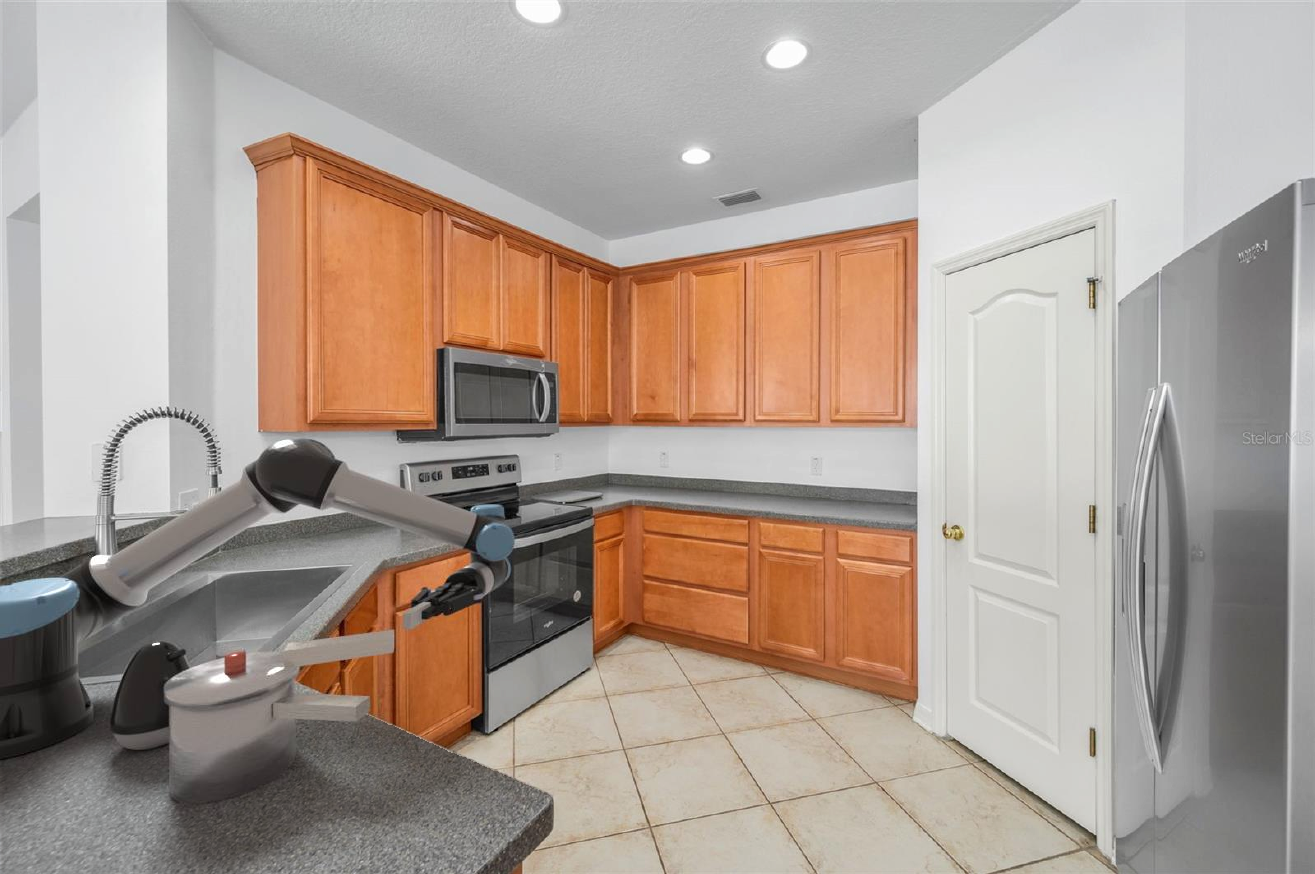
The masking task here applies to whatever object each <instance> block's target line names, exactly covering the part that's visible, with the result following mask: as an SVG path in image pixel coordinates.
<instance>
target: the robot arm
mask: <svg viewBox="0 0 1315 874" xmlns="http://www.w3.org/2000/svg"><path fill="white" fill-rule="evenodd" d="M299 505H302V506H307V507H309V508H313V509H317V510H320V511H325V510H328V509H331V508H333V509H336V510H340V511H342V512H344V513H347V514H351V515H354V516H358V517H361V518H365V519H367V520H370V521H374V522H376V523H380V524H384V525H386V526H390V527H391V528H392V527H393V528H396V529H399V530H403V531H406V532H409V533H412V534H415V535H417V536H418V535H419V536H420V537H425V538H428V539H432V540H434V541H437V542H440V543H443V544H446V545H450V546H453V547H456V548H460V549H462V550H465V551H468V552H469V554H470V555H469V557H470V558H469V559H470V562H469V564H468V565H466V566H464V567H462V568H461V569H458V570H456V571H455V572H452V573H451V574H449V576H448V577H447V578H446V580H445V582H444V583H443V585H439V586H437V587H436V588H435V589H434V590H432V588H429V587H426V586H424V587H421V589H420V592H419V593H417V595H416V596H414V598H412V599H411V600H410V608H409V609H408V610H406V611H404V612H403V613H402V630H409V631H410V630H413V629H414V628H416V627H417V626H419V625H421V624H423V623H424V622H426V621H427V620H430V619H431V618H433V617H439V616H441V615H443V616H445V617H447V616H450V615H454V614H455V613H457V612H459V611H462V610H464V609H467V608H469V607H471V606H474V605H476V604H481V603H484V596H486V595H488V594H490V593H492V591H494V590H496V589H498V588H500V587H501V586H502V585H504V583H505V582H506V581H507V580H508V579H509V577H510V575H511V572H512V571H511V570H512V567H511V563H510V561H509V558H507V557H509V556H510V554H512V552H513V550H514V547H515V544H516V543H515V541H516V540H515V535H514V532H513V530H512V528H511V527H510V526H508V524H507V523H505V519H506V516H505V508H504V506H503V505H501V504H493V503H492V504H477V505H474V506H471V508H470V511H469V510H467V509H464V508H461V507H458V506H455V505H453V504H450V503H446V502H444V501H441V500H437V499H435V498H432V497H429V496H426V495H423V494H421V493H418V492H415V491H412V490H409V489H407V488H404V487H401V486H397V485H395V484H392V483H390V482H389V483H388V482H387V481H384V480H380V479H378V478H374V477H371V476H369V475H366V474H363V473H360V472H358V471H355V470H351V469H349V466H348V464H347V463H346V461H343V460H340V459H338V458H337V459H336V456H335V455H334V453H333V451H332V450H331V448H328V446H327V445H325V444H324V443H322V442H320V441H318V440H315V439H312V438H304V437H303V438H296V439H295V438H291V439H283V440H280V441H277V442H274V443H272V444H270V445H268V446H267V448H266V449H264V450H263V451H262V452H261V454H260V456H259V457H258V458H257V459H256V460H254V461H252V462H251V463H250V464H247V465H246V466H244V467H243V469H242V474H241V478H240V479H238V480H237V481H235V482H233V483H232V484H230V485H228V486H226V487H225V488H223V489H221V490H220V491H218V492H216V493H215V494H212V496H210V497H208V498H207V499H205V500H203V501H202V502H199V503H198V504H196V505H195V506H193V507H191V508H189V509H188V510H186V511H185V512H183V513H182V514H179V515H178V516H176V517H175V518H173V519H171V520H170V521H168V522H166V523H165V524H163V525H162V526H160V527H158V528H156V529H155V530H153V531H152V532H150V533H148V534H146V535H145V536H143V537H142V538H139V539H138V540H137V541H135V542H133V543H131V544H129V545H128V546H126V547H124V548H123V549H121V550H119V551H118V552H117V553H115V554H112V555H111V554H97V555H95V556H93V557H91V558H89V559H87V560H86V561H84V562H82V563H80V564H79V565H77V566H75V567H74V568H72V569H70V570H69V571H67V572H65V573H64V574H62V575H60V576H58V577H45V578H35V579H27V580H23V581H18V582H13V583H11V584H9V585H1V586H0V760H3V759H8V758H13V757H16V756H20V755H23V754H27V753H30V752H33V751H36V750H40V749H43V748H46V747H49V746H51V745H54V744H56V743H59V742H62V741H63V740H66V739H69V738H70V737H73V736H74V735H76V734H78V733H80V732H81V731H83V730H85V729H86V728H87V727H88V726H90V725H91V724H92V722H93V721H94V704H93V702H92V701H91V699H90V696H89V694H88V692H87V691H86V689H85V686H84V683H82V680H81V678H80V676H79V644H81V643H82V642H84V641H86V640H87V639H89V638H90V637H92V636H94V635H96V634H97V633H100V632H102V631H104V630H106V629H108V628H109V627H111V626H113V625H114V624H116V623H117V622H118V621H120V619H121V618H122V617H124V616H126V615H127V614H129V613H131V612H132V611H134V610H135V609H137V608H138V607H140V606H141V605H142V604H144V603H146V600H148V599H147V598H148V594H149V591H150V590H151V589H153V588H154V587H156V586H157V585H159V584H160V583H162V582H164V581H165V580H167V579H169V578H170V577H172V576H174V575H175V574H176V573H178V572H180V571H181V570H183V569H185V568H186V567H188V566H189V565H190V564H192V563H194V562H196V561H197V560H199V559H200V558H201V557H203V556H205V555H207V554H208V553H210V552H211V551H213V550H214V549H216V548H218V547H220V546H221V545H223V544H224V543H226V542H227V541H229V540H230V539H232V538H234V537H236V536H237V535H238V534H240V533H241V532H243V531H245V530H246V529H248V528H249V527H251V526H252V525H254V524H256V523H257V522H259V521H261V520H263V519H264V518H265V517H267V516H268V515H270V514H273V513H274V514H282V515H284V514H286V513H288V512H289V511H291V510H293V509H294V508H296V507H297V506H299Z"/></svg>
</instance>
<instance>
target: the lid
mask: <svg viewBox="0 0 1315 874" xmlns="http://www.w3.org/2000/svg"><path fill="white" fill-rule="evenodd" d="M394 650H395V629H389V630H380V631H373V632H372V631H371V632H364V633H358V634H350V635H343V636H342V635H341V636H335V637H329V638H328V637H327V638H319V639H312V640H305V641H297V642H296V641H295V642H290V643H287V644H286V646H285V649H284V650H283V651H277V650H275V651H274V650H273V651H271V650H270V651H257V652H256V651H255V652H249V653H247V652H246V650H245V651H238V652H233V653H229V654H227V655H225V657H224V658H221V659H217V660H216V659H214V660H211V661H207V662H204V663H200V664H198V665H196V666H195V665H194V666H193V667H190V669H188V670H185V671H183V672H181V673H179V674H177V675H175V676H174V677H172V678H171V679H170V680H168V681H167V682H166V684H165V685H164V702H165V703H166V704H167V705H169V706H172V707H177V708H205V707H214V706H220V705H226V704H231V703H235V702H239V701H243V700H247V699H250V698H254V697H257V696H260V695H263V694H265V693H268V692H271V691H273V690H275V689H277V688H280V687H281V686H283V685H285V684H287V683H288V682H290V681H291V680H293V679H294V678H295V679H296V677H297V676H298V675H299V673H300V667H304V666H310V665H311V666H312V665H318V664H325V663H333V662H339V661H344V660H352V659H358V658H366V657H373V656H380V655H386V654H393V653H394Z"/></svg>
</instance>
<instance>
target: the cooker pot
mask: <svg viewBox="0 0 1315 874" xmlns="http://www.w3.org/2000/svg"><path fill="white" fill-rule="evenodd" d="M369 712H371V697H370V695H369V696H368V695H347V694H330V693H329V694H327V693H323V694H322V693H304V692H303V693H301V692H296V677H295V678H294V679H293V680H291V681H290V682H288V683H287V684H285V685H283V686H281V687H280V688H277V689H275V690H273V691H271V692H268V693H265V694H263V695H260V696H257V697H254V698H250V699H247V700H243V701H239V702H235V703H231V704H226V705H220V706H214V707H205V708H177V707H172V706H169V743H168V753H169V754H168V758H169V759H168V760H169V761H168V765H169V766H168V772H169V773H168V783H169V785H168V786H169V787H168V788H169V789H168V791H169V796H170V798H171V799H173V800H174V801H177V802H178V803H182V804H192V805H193V804H195V805H196V804H206V803H207V804H208V803H214V802H218V801H223V800H227V799H231V798H235V797H238V796H241V795H243V794H246V793H249V792H251V791H254V790H257V789H259V788H260V786H261V787H263V786H264V785H267V784H269V783H270V782H272V781H274V780H276V779H277V778H278V777H280V776H281V775H283V774H284V773H285V772H286V771H288V769H289V768H290V767H291V766H292V765H293V764H294V762H295V760H296V755H297V754H296V753H297V752H296V751H297V749H296V747H297V746H296V745H297V742H296V741H297V739H296V737H297V736H296V729H297V728H296V724H297V723H296V721H297V720H299V719H300V720H314V721H316V720H317V721H333V722H335V721H337V722H351V723H352V722H353V723H354V722H355V723H356V722H358V721H359V720H360V719H362V718H363V717H364V716H365V715H367V713H369ZM296 719H297V720H296ZM284 771H285V772H284ZM271 780H272V781H271Z"/></svg>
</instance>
